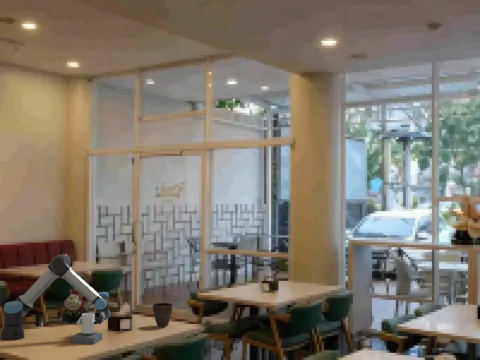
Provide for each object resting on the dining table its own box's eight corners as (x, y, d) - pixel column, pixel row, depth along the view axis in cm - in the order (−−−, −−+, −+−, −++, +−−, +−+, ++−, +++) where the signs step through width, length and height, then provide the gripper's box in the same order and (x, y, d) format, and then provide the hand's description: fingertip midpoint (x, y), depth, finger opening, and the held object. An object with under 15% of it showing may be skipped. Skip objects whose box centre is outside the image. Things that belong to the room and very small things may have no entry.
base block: (70, 343, 376) (70, 336, 376) (79, 338, 390) (79, 332, 390) (94, 344, 374) (94, 337, 374) (102, 339, 388) (102, 333, 388)
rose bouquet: (61, 325, 432) (62, 284, 433) (62, 318, 460) (63, 280, 461) (97, 324, 439) (98, 284, 440) (95, 317, 467) (96, 279, 468)
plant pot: (165, 329, 423) (165, 306, 424) (148, 327, 430) (148, 305, 431) (176, 325, 437) (176, 303, 438) (159, 323, 443) (159, 302, 444)
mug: (80, 335, 375) (80, 316, 376) (74, 332, 382) (74, 314, 382) (96, 332, 383) (97, 314, 383) (91, 330, 389) (91, 312, 390)
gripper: (112, 323, 399) (99, 330, 376) (82, 322, 402) (68, 329, 379) (112, 312, 399) (100, 318, 377) (82, 311, 402) (68, 317, 380)
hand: (84, 323), depth 378 cm, fingers closed on mug, 9 cm apart
